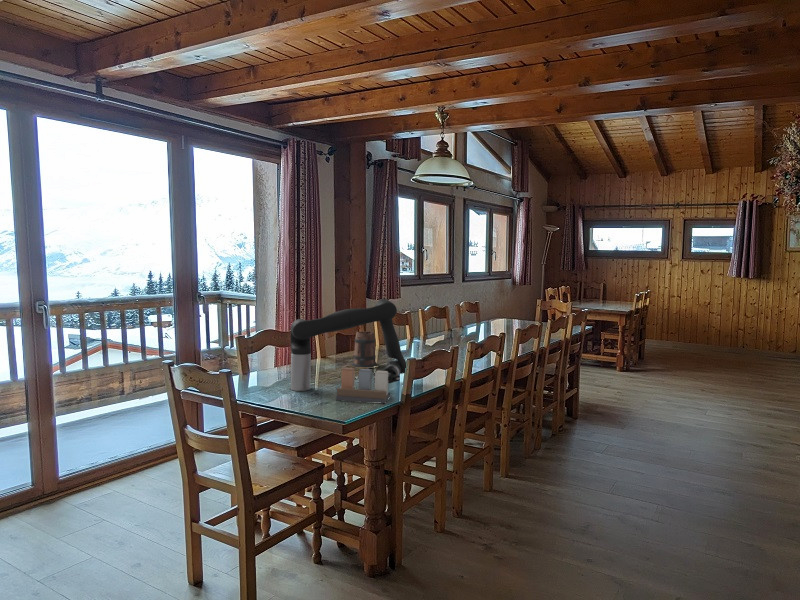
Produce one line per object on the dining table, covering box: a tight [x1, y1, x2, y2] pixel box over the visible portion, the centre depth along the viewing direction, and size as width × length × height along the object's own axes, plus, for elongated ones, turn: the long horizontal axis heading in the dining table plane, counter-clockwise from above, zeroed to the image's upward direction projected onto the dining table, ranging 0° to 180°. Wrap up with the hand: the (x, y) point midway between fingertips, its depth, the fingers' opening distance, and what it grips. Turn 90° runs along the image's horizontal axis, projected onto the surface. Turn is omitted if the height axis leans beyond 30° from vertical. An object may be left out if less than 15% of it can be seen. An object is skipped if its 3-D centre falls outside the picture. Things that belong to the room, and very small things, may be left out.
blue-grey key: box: [358, 369, 373, 390], centre depth 245 cm, size 4×5×11 cm
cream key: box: [374, 370, 389, 396], centre depth 242 cm, size 4×5×11 cm
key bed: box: [335, 387, 391, 404], centre depth 244 cm, size 12×22×5 cm, turn 79°
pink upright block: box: [340, 367, 356, 389], centre depth 247 cm, size 4×5×11 cm
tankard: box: [350, 331, 378, 367], centre depth 314 cm, size 24×17×20 cm
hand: (382, 381), depth 244 cm, fingers closed
